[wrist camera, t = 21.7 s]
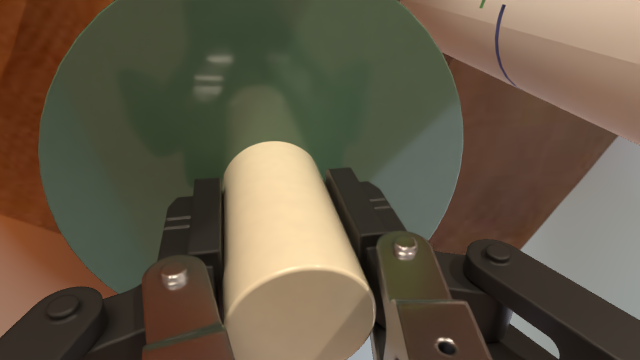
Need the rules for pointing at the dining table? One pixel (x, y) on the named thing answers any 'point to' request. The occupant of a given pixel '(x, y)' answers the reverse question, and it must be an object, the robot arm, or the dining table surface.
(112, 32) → the lid
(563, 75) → the cylindrical container
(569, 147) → the dining table surface
